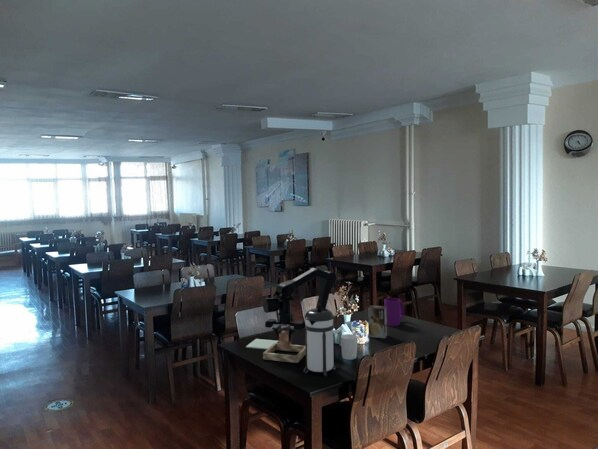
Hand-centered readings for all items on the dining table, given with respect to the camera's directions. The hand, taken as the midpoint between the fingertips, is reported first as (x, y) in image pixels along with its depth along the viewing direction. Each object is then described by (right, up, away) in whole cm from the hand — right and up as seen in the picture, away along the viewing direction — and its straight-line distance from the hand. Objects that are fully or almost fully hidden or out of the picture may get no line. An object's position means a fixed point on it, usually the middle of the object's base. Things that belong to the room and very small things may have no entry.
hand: (285, 341), depth 228 cm
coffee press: (+16, -8, -18) cm, 26 cm away
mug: (+64, -2, +52) cm, 83 cm away
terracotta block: (0, -1, 0) cm, 1 cm away
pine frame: (0, -7, +1) cm, 7 cm away
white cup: (+31, -7, -3) cm, 32 cm away
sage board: (-12, -6, +17) cm, 22 cm away
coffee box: (+49, -4, +28) cm, 57 cm away
